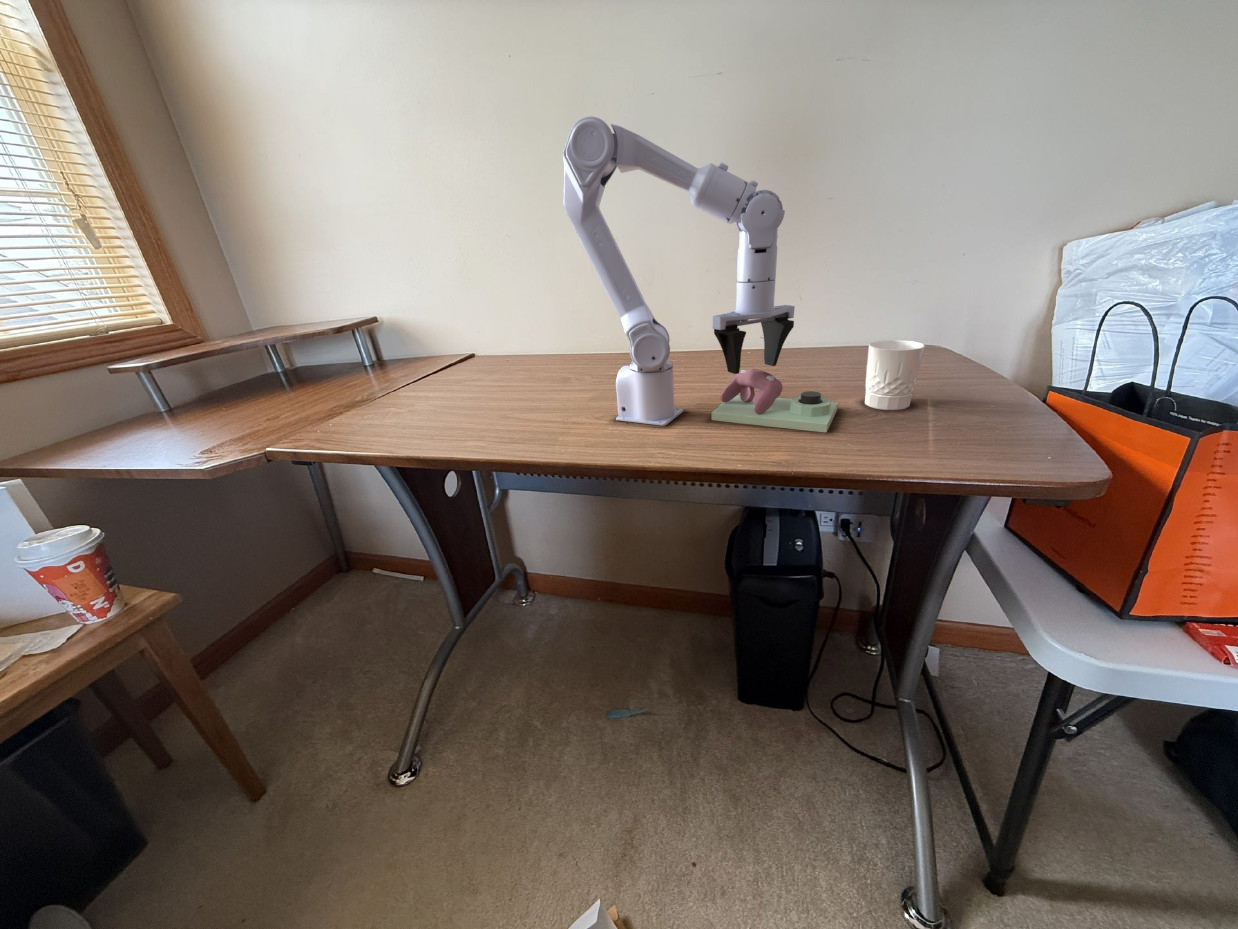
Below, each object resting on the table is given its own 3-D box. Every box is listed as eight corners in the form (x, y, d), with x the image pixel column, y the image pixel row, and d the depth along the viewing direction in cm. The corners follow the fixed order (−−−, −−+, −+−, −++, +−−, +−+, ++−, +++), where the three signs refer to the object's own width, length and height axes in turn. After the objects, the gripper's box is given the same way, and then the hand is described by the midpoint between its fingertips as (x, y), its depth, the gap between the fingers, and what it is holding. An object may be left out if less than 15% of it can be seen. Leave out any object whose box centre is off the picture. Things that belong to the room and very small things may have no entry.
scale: (711, 420, 80) (711, 403, 79) (731, 401, 88) (732, 385, 87) (826, 433, 71) (828, 414, 70) (837, 410, 80) (839, 393, 79)
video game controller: (774, 420, 78) (791, 379, 77) (756, 413, 76) (773, 371, 74) (734, 406, 86) (748, 368, 85) (716, 399, 84) (731, 361, 82)
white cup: (923, 410, 77) (936, 347, 73) (873, 413, 77) (883, 351, 73) (898, 396, 84) (908, 338, 80) (852, 399, 84) (860, 342, 80)
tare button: (798, 405, 76) (799, 395, 75) (802, 399, 78) (803, 390, 77) (818, 406, 74) (819, 397, 74) (821, 401, 77) (822, 391, 76)
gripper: (774, 275, 79) (770, 357, 85) (701, 284, 74) (701, 371, 79) (807, 276, 73) (799, 364, 79) (729, 286, 68) (727, 379, 73)
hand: (752, 368), depth 79 cm, fingers open, 7 cm apart
